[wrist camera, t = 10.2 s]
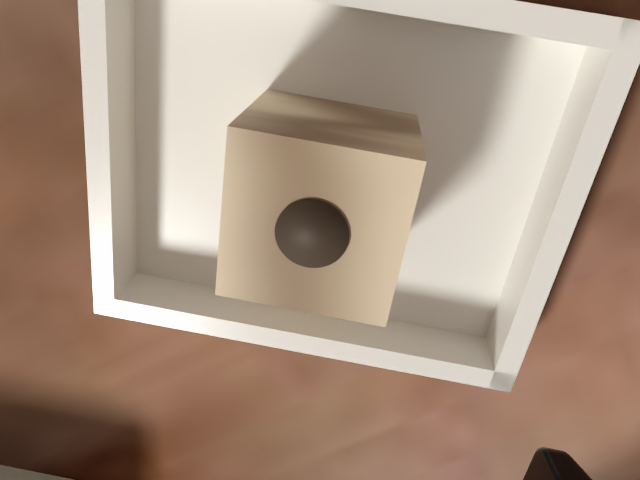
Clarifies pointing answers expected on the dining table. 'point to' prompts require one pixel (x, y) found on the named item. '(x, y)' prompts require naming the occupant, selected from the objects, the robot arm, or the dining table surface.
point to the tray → (367, 90)
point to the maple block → (318, 205)
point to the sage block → (25, 474)
